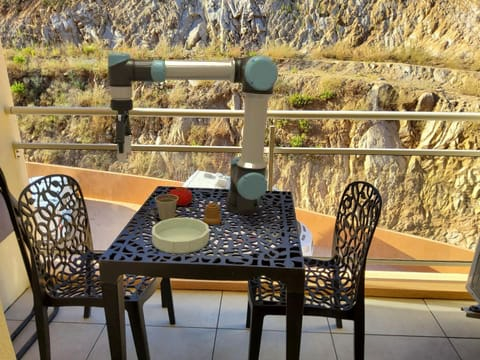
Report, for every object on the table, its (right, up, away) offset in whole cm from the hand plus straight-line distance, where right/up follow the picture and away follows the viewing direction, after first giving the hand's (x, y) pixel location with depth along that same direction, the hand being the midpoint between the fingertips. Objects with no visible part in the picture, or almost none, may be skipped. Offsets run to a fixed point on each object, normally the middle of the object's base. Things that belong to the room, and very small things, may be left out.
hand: (125, 157), depth 143 cm
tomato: (+16, -19, +32) cm, 40 cm away
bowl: (+21, -30, -3) cm, 37 cm away
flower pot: (+12, -24, +16) cm, 32 cm away
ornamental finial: (+31, -26, +13) cm, 43 cm away
